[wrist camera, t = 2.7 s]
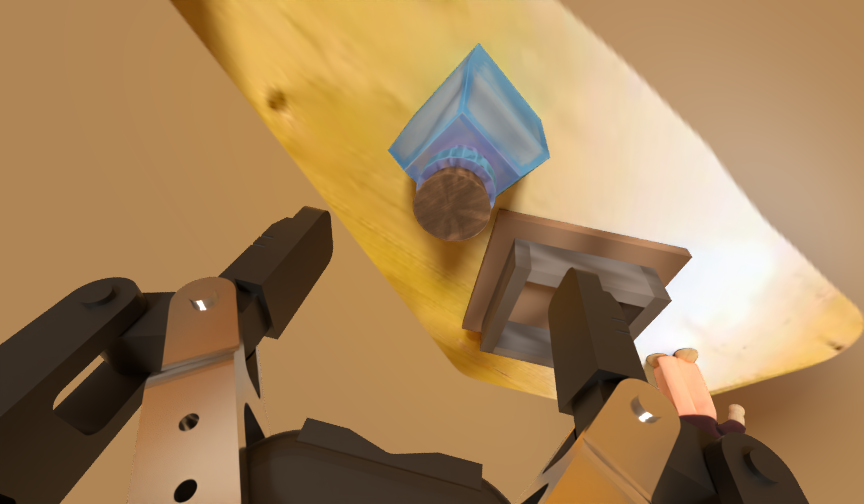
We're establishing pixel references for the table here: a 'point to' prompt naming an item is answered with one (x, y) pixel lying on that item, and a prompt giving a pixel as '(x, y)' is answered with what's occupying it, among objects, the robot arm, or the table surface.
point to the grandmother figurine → (692, 393)
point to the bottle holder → (543, 272)
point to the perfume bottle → (468, 148)
